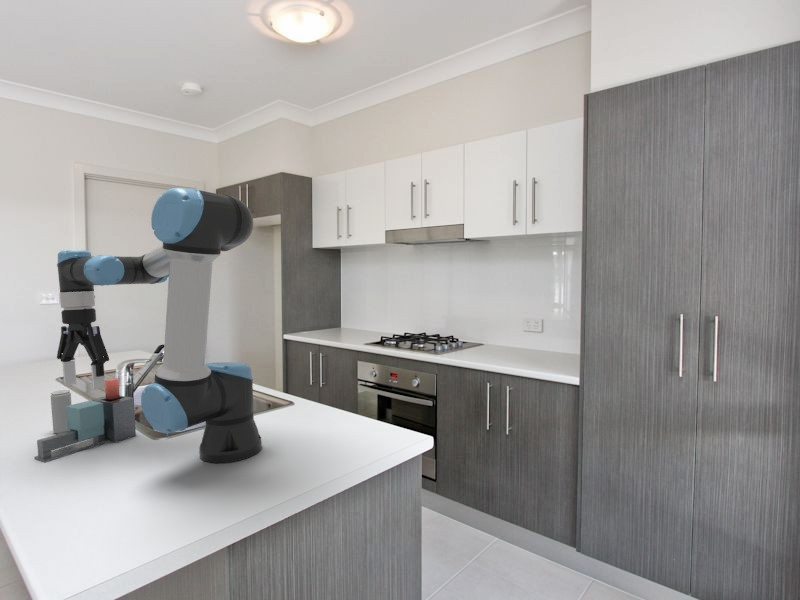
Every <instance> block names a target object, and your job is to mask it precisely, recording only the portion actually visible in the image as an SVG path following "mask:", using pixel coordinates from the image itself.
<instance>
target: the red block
mask: <svg viewBox="0 0 800 600" xmlns="http://www.w3.org/2000/svg"><path fill="white" fill-rule="evenodd" d="M104 393H105V395H104V396H106V399H116V398H119V397H120V396H121V395H120V380H119V378H117V377H116V378H115V377H114V378H108V379H105V388H104Z"/></svg>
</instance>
